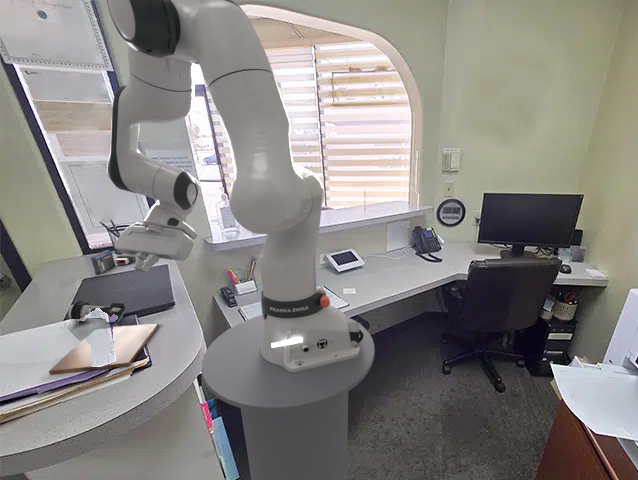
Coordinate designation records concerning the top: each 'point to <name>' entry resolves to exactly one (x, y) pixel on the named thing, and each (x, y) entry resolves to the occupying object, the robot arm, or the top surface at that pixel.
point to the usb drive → (125, 259)
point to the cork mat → (125, 348)
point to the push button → (85, 308)
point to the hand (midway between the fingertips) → (140, 270)
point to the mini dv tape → (103, 261)
